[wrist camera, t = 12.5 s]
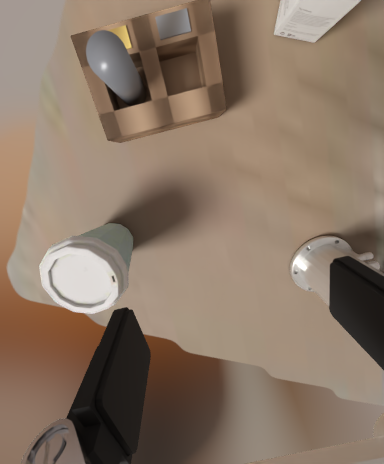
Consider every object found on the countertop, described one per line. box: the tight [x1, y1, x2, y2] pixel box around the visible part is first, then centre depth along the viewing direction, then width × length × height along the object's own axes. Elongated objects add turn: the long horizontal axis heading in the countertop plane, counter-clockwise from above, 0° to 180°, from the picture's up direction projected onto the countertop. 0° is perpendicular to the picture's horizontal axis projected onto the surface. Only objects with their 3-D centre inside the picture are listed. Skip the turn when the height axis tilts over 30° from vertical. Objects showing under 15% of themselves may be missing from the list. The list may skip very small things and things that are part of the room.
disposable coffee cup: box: [39, 223, 133, 314], centre depth 31 cm, size 11×11×15 cm
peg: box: [86, 30, 146, 106], centre depth 23 cm, size 4×4×11 cm
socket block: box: [71, 0, 227, 143], centre depth 27 cm, size 16×11×6 cm
